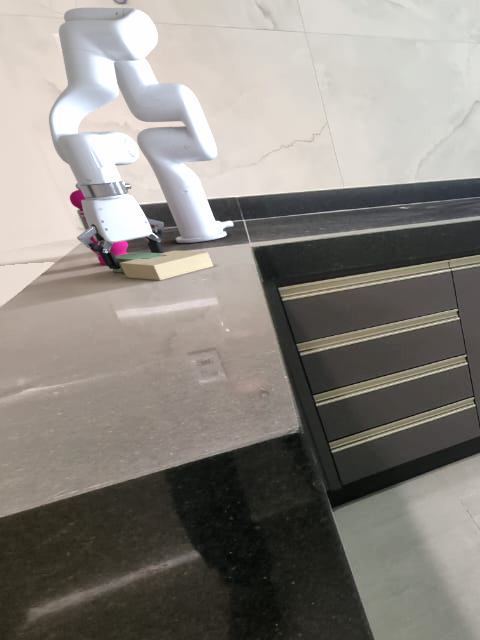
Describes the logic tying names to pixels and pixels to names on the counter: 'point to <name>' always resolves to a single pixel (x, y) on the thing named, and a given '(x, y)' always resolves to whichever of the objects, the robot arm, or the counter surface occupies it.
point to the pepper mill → (76, 199)
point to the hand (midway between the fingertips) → (138, 263)
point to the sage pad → (134, 256)
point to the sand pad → (167, 265)
